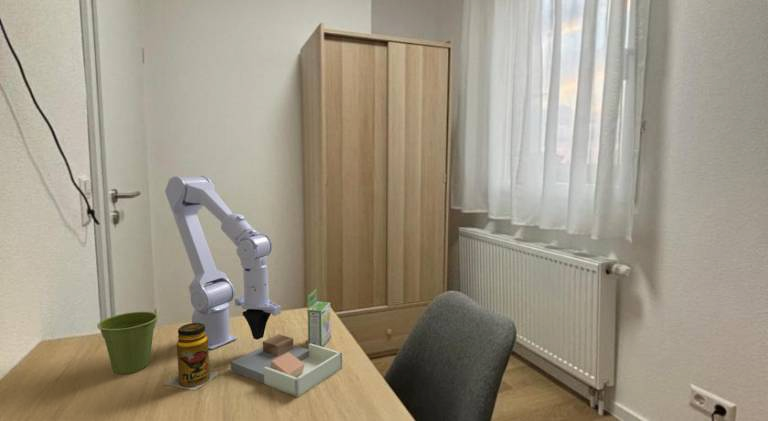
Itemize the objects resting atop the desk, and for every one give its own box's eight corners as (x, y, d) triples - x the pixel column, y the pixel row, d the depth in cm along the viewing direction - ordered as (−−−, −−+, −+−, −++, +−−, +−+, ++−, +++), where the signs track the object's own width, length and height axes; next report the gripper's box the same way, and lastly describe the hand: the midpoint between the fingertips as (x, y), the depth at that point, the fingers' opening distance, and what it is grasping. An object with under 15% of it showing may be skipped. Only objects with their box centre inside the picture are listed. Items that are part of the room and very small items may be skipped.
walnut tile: (263, 351, 98) (262, 341, 98) (278, 343, 102) (278, 334, 102) (277, 356, 96) (277, 346, 95) (293, 348, 100) (293, 338, 99)
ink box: (322, 348, 104) (321, 297, 103) (307, 347, 105) (306, 296, 103) (331, 337, 111) (330, 289, 109) (317, 336, 112) (316, 288, 110)
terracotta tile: (269, 370, 89) (271, 361, 88) (286, 361, 93) (288, 352, 92) (285, 383, 86) (288, 373, 86) (302, 373, 90) (304, 364, 90)
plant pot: (169, 366, 96) (166, 319, 94) (109, 386, 87) (105, 334, 86) (151, 351, 104) (148, 307, 102) (94, 367, 95) (91, 320, 94)
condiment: (195, 391, 85) (192, 334, 84) (162, 384, 87) (159, 330, 86) (219, 374, 92) (217, 321, 90) (188, 368, 94) (185, 318, 93)
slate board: (231, 370, 93) (230, 361, 93) (278, 347, 105) (277, 340, 105) (264, 383, 87) (264, 374, 87) (310, 357, 99) (310, 349, 99)
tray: (264, 383, 87) (263, 367, 87) (310, 357, 99) (310, 343, 99) (297, 397, 82) (297, 379, 82) (342, 367, 94) (341, 352, 94)
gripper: (223, 284, 102) (226, 337, 103) (263, 292, 94) (266, 350, 95) (246, 277, 108) (249, 328, 109) (286, 285, 100) (288, 339, 101)
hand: (258, 337), depth 103 cm, fingers closed
